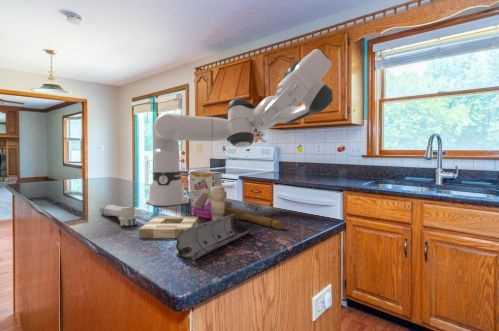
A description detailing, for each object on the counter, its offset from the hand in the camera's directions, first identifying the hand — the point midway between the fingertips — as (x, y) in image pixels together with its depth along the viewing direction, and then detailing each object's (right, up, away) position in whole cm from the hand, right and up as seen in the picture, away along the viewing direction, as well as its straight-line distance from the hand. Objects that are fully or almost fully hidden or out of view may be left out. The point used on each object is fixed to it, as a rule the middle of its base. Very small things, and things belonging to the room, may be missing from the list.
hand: (261, 123), depth 95 cm
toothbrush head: (-50, -32, +11) cm, 60 cm away
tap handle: (-4, -33, +10) cm, 34 cm away
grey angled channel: (-12, -34, -15) cm, 39 cm away
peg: (-13, -33, -1) cm, 35 cm away
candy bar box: (-19, -32, +15) cm, 40 cm away
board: (-27, -33, -2) cm, 43 cm away
